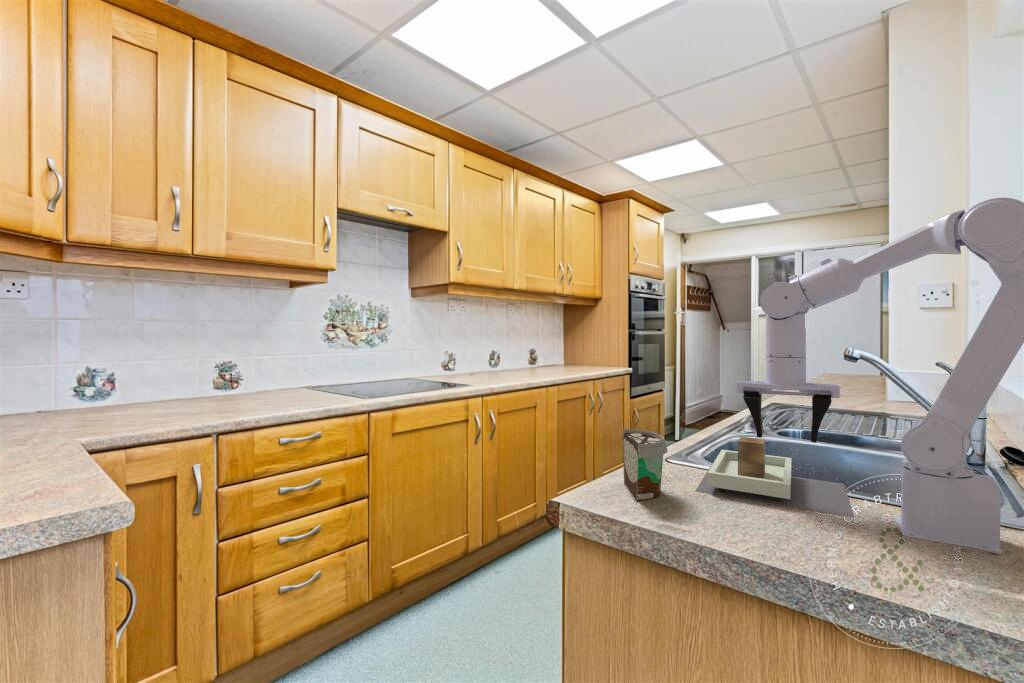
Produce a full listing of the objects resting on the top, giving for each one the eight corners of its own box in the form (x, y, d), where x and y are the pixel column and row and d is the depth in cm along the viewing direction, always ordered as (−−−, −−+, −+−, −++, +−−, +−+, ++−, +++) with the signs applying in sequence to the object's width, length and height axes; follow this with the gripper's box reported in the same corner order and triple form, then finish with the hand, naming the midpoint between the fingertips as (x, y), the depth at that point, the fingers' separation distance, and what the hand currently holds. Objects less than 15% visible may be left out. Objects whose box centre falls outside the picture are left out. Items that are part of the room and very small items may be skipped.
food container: (678, 507, 73) (678, 445, 73) (639, 507, 74) (638, 445, 73) (655, 481, 86) (655, 428, 86) (622, 481, 86) (622, 428, 86)
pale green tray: (791, 476, 86) (791, 457, 86) (790, 506, 72) (790, 484, 72) (721, 466, 93) (721, 449, 93) (707, 492, 78) (707, 472, 78)
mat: (843, 486, 82) (844, 483, 82) (853, 520, 68) (853, 517, 68) (710, 467, 94) (710, 465, 94) (695, 493, 79) (695, 491, 79)
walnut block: (764, 472, 83) (765, 439, 82) (763, 478, 79) (763, 444, 79) (740, 469, 85) (740, 436, 85) (737, 475, 81) (737, 441, 81)
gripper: (837, 355, 76) (837, 438, 76) (739, 354, 84) (740, 429, 84) (840, 358, 70) (840, 447, 70) (734, 357, 78) (735, 437, 78)
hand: (785, 438), depth 77 cm, fingers open, 7 cm apart
